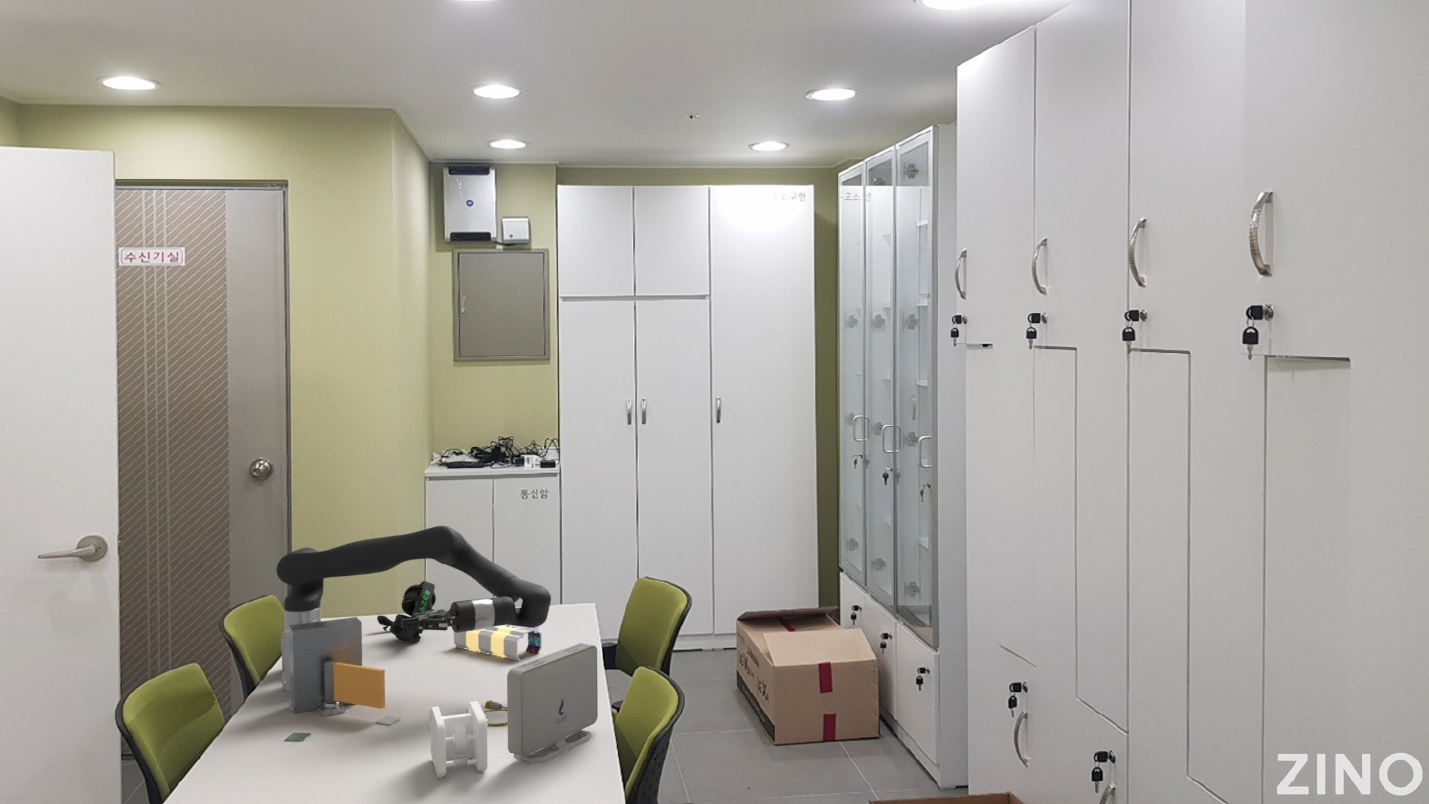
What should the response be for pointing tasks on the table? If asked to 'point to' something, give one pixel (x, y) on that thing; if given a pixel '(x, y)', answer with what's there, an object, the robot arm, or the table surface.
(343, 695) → the orange rectangular panel
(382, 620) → the headset
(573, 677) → the network device
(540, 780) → the table surface
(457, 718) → the cable organizer
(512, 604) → the robot arm
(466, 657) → the table surface
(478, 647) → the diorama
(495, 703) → the extension cord
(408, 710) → the table surface
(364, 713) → the table surface
